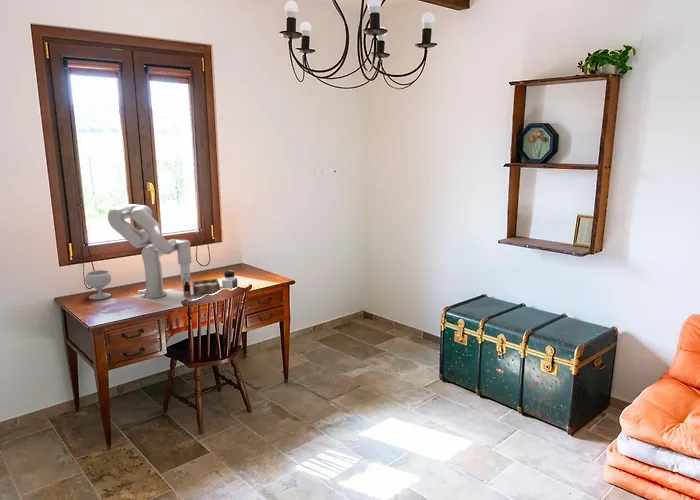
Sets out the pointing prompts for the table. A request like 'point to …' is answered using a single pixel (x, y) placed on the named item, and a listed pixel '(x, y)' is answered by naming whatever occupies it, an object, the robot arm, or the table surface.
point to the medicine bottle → (229, 280)
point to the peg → (188, 293)
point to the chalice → (98, 282)
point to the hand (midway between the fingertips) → (186, 289)
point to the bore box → (205, 287)
